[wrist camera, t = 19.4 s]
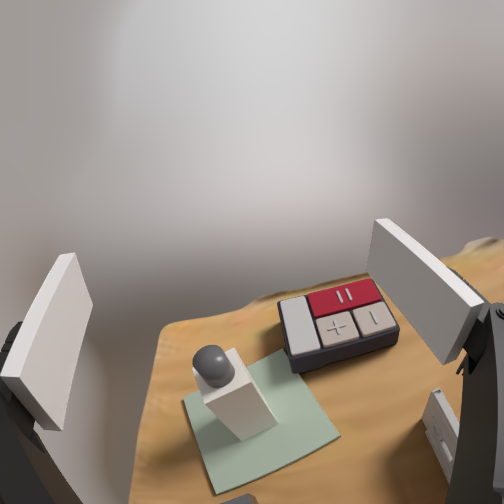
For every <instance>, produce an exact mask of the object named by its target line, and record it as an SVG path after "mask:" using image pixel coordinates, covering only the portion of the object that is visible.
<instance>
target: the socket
mask: <svg viewBox="0 0 504 504" xmlns="http://www.w3.org/2000/svg"><path fill="white" fill-rule="evenodd" d="M221 504H258V502H257V500H256V498H255V496H252V495H250V494H245V495H242V496H240V497H237V498H235V499H232V500H229V501H227V502H224V503H221Z"/></svg>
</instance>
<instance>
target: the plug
mask: <svg viewBox="0 0 504 504" xmlns="http://www.w3.org/2000/svg"><path fill="white" fill-rule="evenodd" d="M192 369H193V372H194V375H195V378H196V381H197V384H198V387H199V389H200V392H201V395H202V398H203V401H204V404H205V405H206V406H207V407H208V408H209V409H210V410H211V411H212V412H213V413H214V414H215V415H216V416H217V417H218V418H219V419H220V420H221V421H222V422H223V423H224V424H225V425H226V426H227V427H228V428H229V429H230V430H231V431H232V432H233V433H234V434H235V435H236V436H237V437H238V438H239V439H240V440H241V441H243V440H246V439H248V438H250V437H252V436H254V435H256V434H258V433H261V432H263V431H265V430H267V429H269V428H271V427H273V426H275V425H277V424H278V422H277V420H276V419H275V417H274V415H273V413H272V411H271V409H270V408H269V406H268V404H267V402H266V400H265V398H264V396H263V394H262V393H261V391H260V390H259V388H258V386H257V385H256V383H255V382H254V380H253V378H252V377H251V375H250V373H249V372H248V370H247V368H246V367H245V365H244V363H243V362H242V360H241V358H240V357H239V355H238V353H237V352H236V350H235V348H232V349H230V350H228V351H226V352H224V351H223V350H222V348H221V347H219V346H217V345H208V346H205V347H203V348H201V349H200V350H198V351H197V353H196V354H195V355H194V358H193V368H192Z"/></svg>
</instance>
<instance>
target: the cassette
mask: <svg viewBox="0 0 504 504" xmlns="http://www.w3.org/2000/svg"><path fill="white" fill-rule="evenodd" d="M422 421H423V423H424V425H425V427H426V429H427V430H426V431H425V434H426V436H427V438H428V440H429V442H430V444H431V446H432V448H433V450H434V452H435V455H436V457H437V459H438V461H439V463H440V465H441V467H442V470H443V472H444V474H445V476H446V479H447V481H448V483H449V485H450V480H451V475H452V470H453V465H454V459H455V454H456V447H457V441H458V433H459V425H460V423H459V422H458V420H457V418H456V416H455V414H454V412H453V411H452V409H451V407H450V405H449V404H448V402H447V400H446V398H445V396H444V395H443V393H442V391H441V389H440V388H437V389H435V390H433V391H431V394H430V397H429V399H428V402H427V405H426V407H425V410H424V413H423V415H422Z"/></svg>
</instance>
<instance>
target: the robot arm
mask: <svg viewBox="0 0 504 504" xmlns="http://www.w3.org/2000/svg"><path fill="white" fill-rule="evenodd" d="M366 271H367V272H368V274H369V275H370V276H371V277H372V278H373V279H374V281H375V282H376V283H377V284H378V285H379V286H380V288H381V289H382V290H383V291H384V292H385V294H386V295H387V296H388V297H389V298H390V299H391V301H392V302H393V303H394V304H395V306H396V307H397V308H398V309H399V310H400V312H401V313H402V314H403V315H404V317H405V318H406V319H407V320H408V321H409V323H410V324H411V325H412V326H413V328H414V329H415V330H416V331H417V333H418V334H419V335H420V337H421V338H422V339H423V340H424V342H425V343H426V344H427V346H428V347H429V348H430V349H431V351H432V352H433V353H434V355H435V356H436V357H437V359H438V360H439V361H440V363H441V364H442V365H445V364H447V363H449V362H452V361H454V360H456V359H457V357H458V356H459V354H460V352H461V350H462V348H464V350H465V351H466V352H467V354H466V356H465V357H464V359H463V361H462V363H461V364H460V366H459V368H458V369H457V372H456V374H459V373H460V371H461V369H463V368H464V370H463V374H462V375H463V392H462V405H461V416H460V425H459V433H458V441H457V447H456V454H455V459H454V465H453V470H452V475H451V480H450V485H449V489H448V493H447V497H446V501H445V504H504V304H503V303H493V304H492V305H491V304H490V303H489V302H488V301H487V300H486V299H485V298H484V297H483V296H482V295H481V294H480V293H479V292H478V291H477V290H476V289H475V288H473V287H472V286H471V285H469V283H468V282H467V281H466V280H465V279H464V280H463V277H461V276H460V275H459V274H458V273H457V272H456V271H454V270H453V269H451V268H449V267H447V266H445V265H444V264H443V263H442V262H440V261H439V260H438V259H437V258H436V257H435V256H433V255H432V254H431V253H430V252H429V251H428V250H426V249H425V248H424V247H423V246H422V245H420V244H419V243H418V242H417V241H415V240H414V239H413V238H412V237H411V236H409V235H408V234H407V233H406V232H404V231H403V230H402V229H401V228H399V227H398V226H397V225H396V224H394V223H393V222H392V221H390V220H389V219H388V218H387V219H375V220H374V226H373V232H372V239H371V244H370V250H369V256H368V262H367V267H366ZM92 306H93V304H92V302H91V299H90V296H89V293H88V290H87V288H86V285H85V282H84V279H83V276H82V273H81V270H80V267H79V263H78V260H77V257H76V254H75V253H69V254H62V255H60V256H59V257H58V259H57V260H56V262H55V264H54V266H53V267H52V269H51V271H50V272H49V274H48V276H47V278H46V280H45V281H44V283H43V285H42V287H41V288H40V290H39V292H38V294H37V296H36V298H35V300H34V302H33V304H32V305H31V307H30V310H29V311H28V313H27V315H26V317H25V320H24V321H23V322H18V323H17V324H16V325H15V326H14V327H13V329H12V330H11V331H10V333H9V334H8V336H7V338H6V341H5V344H4V345H3V347H2V349H1V352H0V504H83V503H82V502H81V500H80V499H79V498H78V496H77V495H76V493H75V492H74V491H73V490H72V488H71V487H70V485H69V484H68V482H67V481H66V479H65V478H64V476H63V475H62V473H61V472H60V470H59V469H58V467H57V466H56V464H55V463H54V461H53V460H52V458H51V456H50V455H49V453H48V451H47V450H46V448H45V446H44V444H43V443H42V441H41V439H40V437H39V436H38V434H37V433H36V432H35V431H34V429H33V427H34V423H35V421H36V422H37V423H38V424H39V425H40V426H41V427H42V428H43V429H44V430H54V431H63V425H64V420H65V414H66V408H67V404H68V399H69V393H70V389H71V385H72V380H73V376H74V372H75V368H76V363H77V359H78V355H79V352H80V348H81V344H82V340H83V337H84V333H85V330H86V326H87V323H88V319H89V316H90V313H91V309H92Z"/></svg>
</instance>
